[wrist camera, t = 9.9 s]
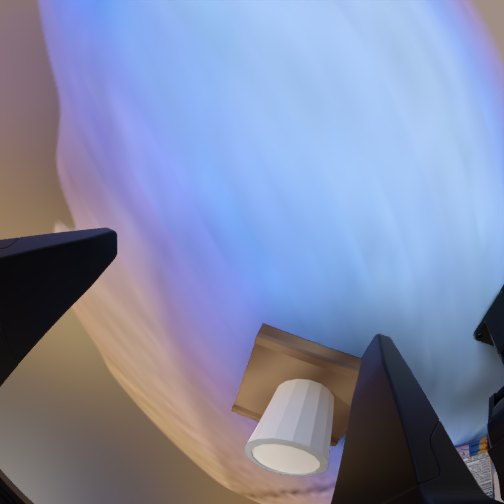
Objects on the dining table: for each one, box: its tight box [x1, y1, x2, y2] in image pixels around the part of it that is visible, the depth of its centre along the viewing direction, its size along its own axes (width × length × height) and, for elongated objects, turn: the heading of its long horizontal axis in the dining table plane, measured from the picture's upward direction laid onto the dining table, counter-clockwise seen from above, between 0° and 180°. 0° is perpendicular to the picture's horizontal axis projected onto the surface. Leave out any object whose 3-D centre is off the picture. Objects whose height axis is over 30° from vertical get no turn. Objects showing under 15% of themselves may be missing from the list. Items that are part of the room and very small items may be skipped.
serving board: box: [231, 324, 362, 446], centre depth 25 cm, size 12×12×2 cm
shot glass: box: [244, 379, 334, 477], centre depth 22 cm, size 7×7×7 cm
